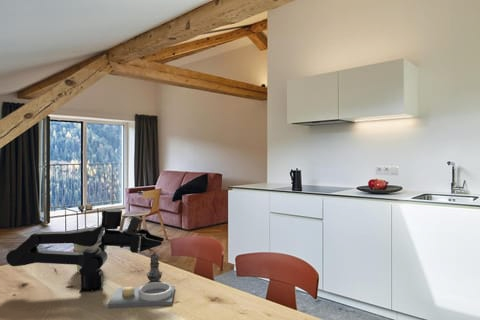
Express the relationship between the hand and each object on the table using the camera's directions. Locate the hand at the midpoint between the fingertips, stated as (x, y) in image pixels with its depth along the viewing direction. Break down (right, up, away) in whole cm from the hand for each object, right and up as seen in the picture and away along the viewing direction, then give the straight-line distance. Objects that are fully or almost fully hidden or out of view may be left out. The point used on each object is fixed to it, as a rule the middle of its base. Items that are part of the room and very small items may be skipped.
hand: (162, 241), depth 126 cm
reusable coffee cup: (-35, -16, +16) cm, 41 cm away
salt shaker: (-4, -17, +3) cm, 17 cm away
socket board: (-4, -17, -10) cm, 20 cm away
